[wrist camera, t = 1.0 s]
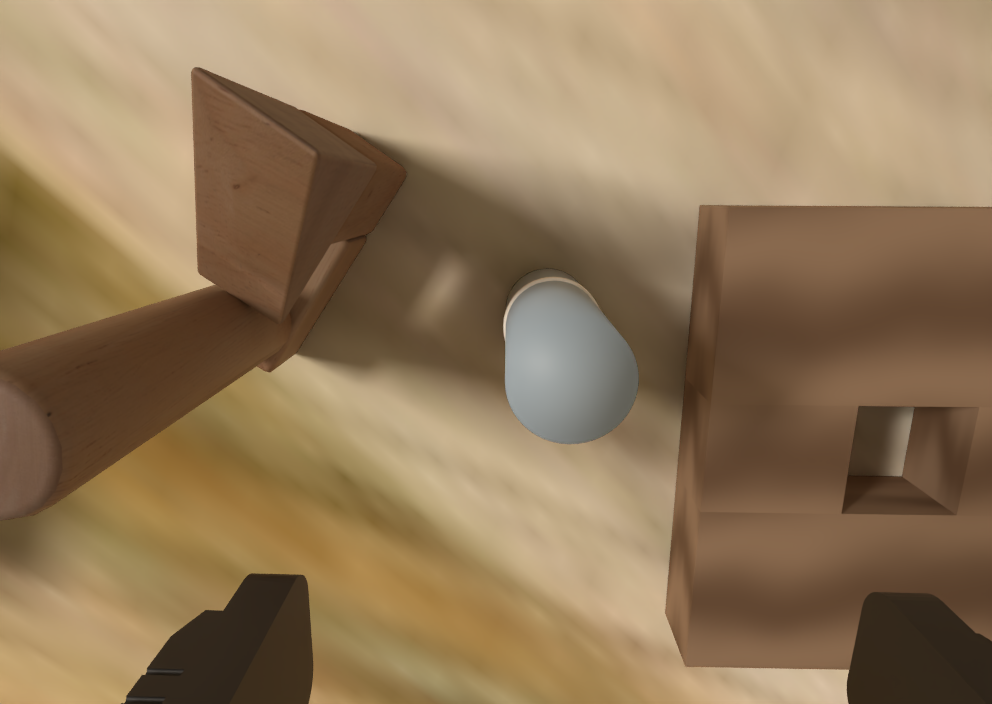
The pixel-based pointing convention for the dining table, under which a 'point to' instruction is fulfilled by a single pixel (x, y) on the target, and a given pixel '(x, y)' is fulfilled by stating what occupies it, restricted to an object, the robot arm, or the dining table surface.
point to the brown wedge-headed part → (199, 294)
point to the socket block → (830, 428)
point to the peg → (565, 360)
